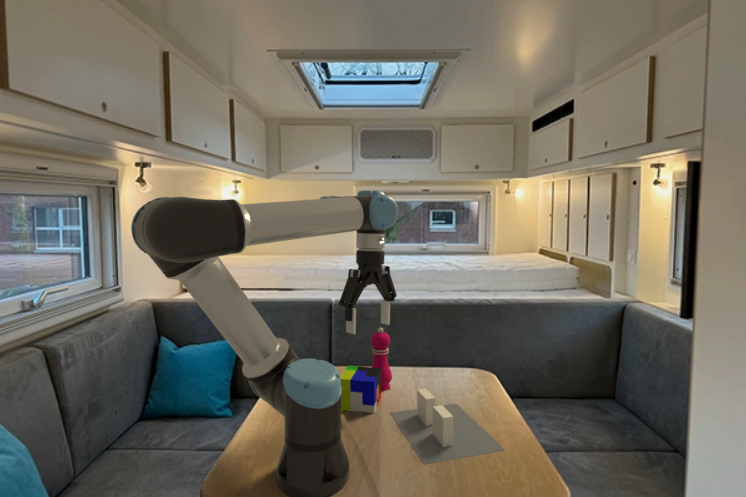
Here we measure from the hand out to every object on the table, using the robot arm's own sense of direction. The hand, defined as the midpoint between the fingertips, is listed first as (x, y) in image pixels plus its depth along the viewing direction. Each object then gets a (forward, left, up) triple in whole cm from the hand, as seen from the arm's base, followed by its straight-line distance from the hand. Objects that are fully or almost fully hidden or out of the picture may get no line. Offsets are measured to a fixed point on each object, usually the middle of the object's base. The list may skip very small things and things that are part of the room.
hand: (368, 328), depth 112 cm
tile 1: (-2, -16, -23) cm, 28 cm away
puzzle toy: (+4, +3, -25) cm, 25 cm away
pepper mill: (+16, -1, -24) cm, 29 cm away
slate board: (-7, -20, -24) cm, 32 cm away
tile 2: (-11, -20, -23) cm, 32 cm away
